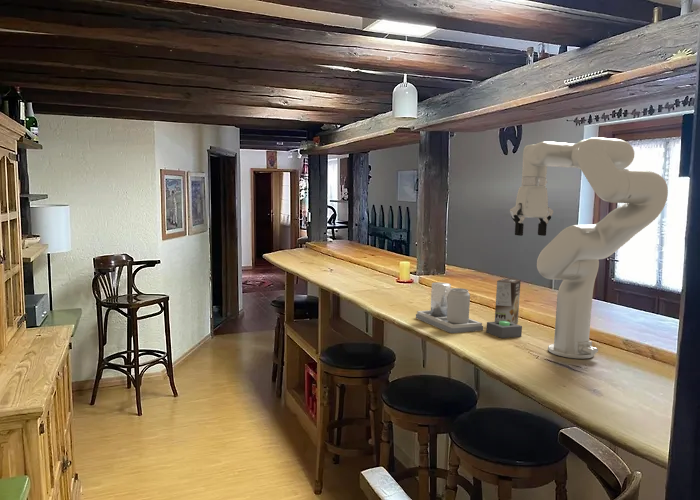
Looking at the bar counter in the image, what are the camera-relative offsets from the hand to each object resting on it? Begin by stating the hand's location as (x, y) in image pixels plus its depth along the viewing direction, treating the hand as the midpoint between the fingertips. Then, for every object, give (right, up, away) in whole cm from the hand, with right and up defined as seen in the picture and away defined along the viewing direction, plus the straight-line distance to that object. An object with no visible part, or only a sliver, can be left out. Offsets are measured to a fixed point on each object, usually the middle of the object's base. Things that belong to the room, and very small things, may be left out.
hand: (530, 235), depth 176 cm
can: (-22, -30, +9) cm, 39 cm away
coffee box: (-3, -32, +18) cm, 36 cm away
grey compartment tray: (-24, -31, +15) cm, 42 cm away
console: (-8, -33, +2) cm, 34 cm away
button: (-8, -32, +2) cm, 33 cm away
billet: (-27, -29, +20) cm, 44 cm away
